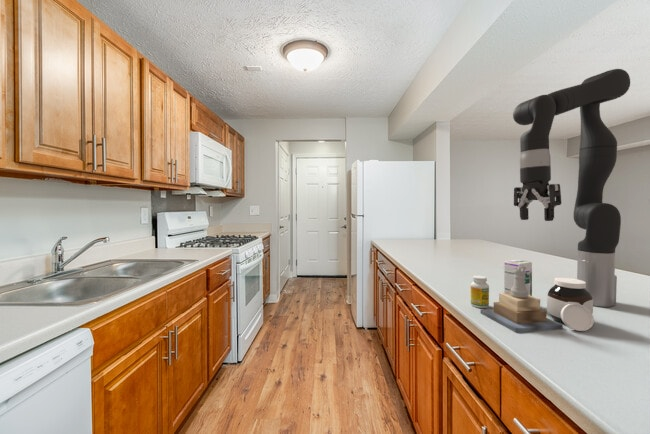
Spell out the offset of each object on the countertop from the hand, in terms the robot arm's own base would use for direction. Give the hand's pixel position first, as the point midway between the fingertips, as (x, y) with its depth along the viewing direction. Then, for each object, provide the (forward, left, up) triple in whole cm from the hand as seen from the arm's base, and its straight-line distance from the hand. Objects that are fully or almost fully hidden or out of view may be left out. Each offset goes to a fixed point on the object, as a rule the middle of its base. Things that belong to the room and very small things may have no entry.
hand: (536, 220), depth 90 cm
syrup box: (-1, -8, -29) cm, 30 cm away
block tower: (+9, +4, -28) cm, 30 cm away
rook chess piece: (+9, +4, -22) cm, 24 cm away
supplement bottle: (+12, -9, -29) cm, 32 cm away
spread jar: (-4, +9, -29) cm, 30 cm away
